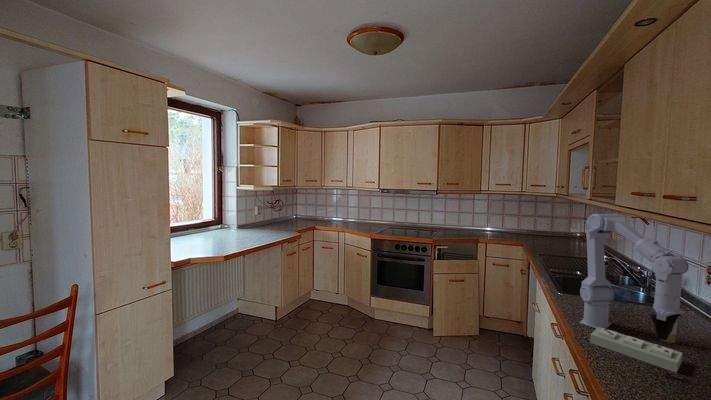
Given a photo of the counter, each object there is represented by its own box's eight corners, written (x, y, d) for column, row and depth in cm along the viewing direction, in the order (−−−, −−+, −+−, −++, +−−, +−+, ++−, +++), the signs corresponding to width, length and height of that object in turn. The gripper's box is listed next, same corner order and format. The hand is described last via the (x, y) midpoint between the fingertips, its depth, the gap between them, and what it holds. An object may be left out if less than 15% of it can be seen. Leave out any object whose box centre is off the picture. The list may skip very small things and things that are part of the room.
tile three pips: (602, 333, 117) (602, 327, 117) (617, 338, 114) (618, 332, 114) (598, 337, 115) (598, 331, 114) (613, 342, 111) (614, 335, 111)
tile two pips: (654, 349, 106) (655, 343, 106) (673, 355, 103) (673, 349, 103) (651, 354, 104) (651, 347, 103) (670, 360, 100) (671, 354, 100)
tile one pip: (627, 341, 112) (627, 334, 112) (643, 346, 108) (644, 340, 108) (623, 345, 109) (624, 339, 109) (640, 351, 106) (641, 344, 105)
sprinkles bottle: (658, 335, 120) (661, 300, 118) (675, 340, 116) (679, 303, 115) (658, 340, 116) (661, 303, 115) (676, 345, 113) (679, 307, 112)
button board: (598, 334, 120) (598, 326, 120) (681, 361, 103) (682, 352, 103) (589, 342, 115) (590, 334, 115) (676, 372, 98) (677, 363, 97)
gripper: (681, 303, 94) (677, 348, 95) (689, 292, 103) (685, 333, 104) (649, 296, 99) (645, 339, 101) (659, 286, 108) (655, 325, 110)
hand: (663, 335), depth 103 cm, fingers open, 6 cm apart
